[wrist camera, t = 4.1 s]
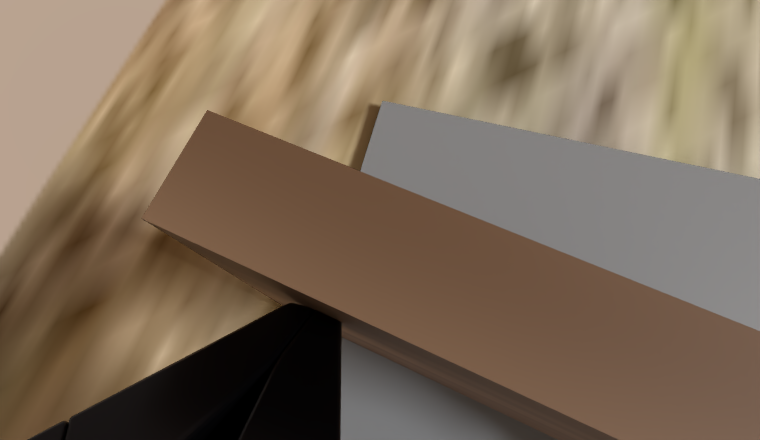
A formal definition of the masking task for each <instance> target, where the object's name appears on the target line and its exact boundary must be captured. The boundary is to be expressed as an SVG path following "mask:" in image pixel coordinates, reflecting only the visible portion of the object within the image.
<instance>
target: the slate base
mask: <svg viewBox="0 0 760 440" xmlns="http://www.w3.org/2000/svg"><path fill="white" fill-rule="evenodd" d="M360 171H361V172H363V173H366V174H368V175H371V176H373V177H376V178H378V179H381V180H383V181H386V182H388V183H391V184H393V185H396V186H398V187H401V188H403V189H406V190H408V191H411V192H413V193H416V194H418V195H421V196H423V197H426V198H428V199H431V200H433V201H436V202H438V203H441V204H443V205H446V206H448V207H451V208H453V209H456V210H458V211H461V212H463V213H466V214H468V215H471V216H473V217H476V218H478V219H481V220H483V221H486V222H488V223H491V224H493V225H496V226H498V227H501V228H503V229H506V230H508V231H511V232H513V233H516V234H518V235H521V236H523V237H526V238H528V239H531V240H533V241H536V242H538V243H541V244H543V245H546V246H548V247H551V248H553V249H556V250H558V251H561V252H563V253H566V254H568V255H571V256H573V257H576V258H578V259H581V260H583V261H586V262H588V263H591V264H593V265H596V266H598V267H601V268H603V269H606V270H608V271H611V272H613V273H616V274H618V275H621V276H623V277H626V278H628V279H631V280H633V281H636V282H638V283H641V284H643V285H646V286H648V287H651V288H653V289H656V290H658V291H661V292H663V293H666V294H668V295H671V296H673V297H676V298H678V299H681V300H683V301H686V302H688V303H691V304H693V305H696V306H698V307H701V308H703V309H706V310H708V311H711V312H713V313H716V314H718V315H721V316H723V317H726V318H728V319H731V320H733V321H736V322H738V323H741V324H743V325H746V326H748V327H751V328H753V329H756V330H758V331H760V179H757V178H753V177H748V176H743V175H738V174H733V173H729V172H724V171H719V170H714V169H709V168H704V167H700V166H695V165H690V164H685V163H680V162H675V161H671V160H666V159H661V158H656V157H651V156H647V155H642V154H637V153H632V152H627V151H622V150H618V149H613V148H608V147H603V146H598V145H593V144H589V143H584V142H579V141H574V140H569V139H565V138H560V137H555V136H550V135H545V134H540V133H536V132H531V131H526V130H521V129H516V128H511V127H507V126H502V125H497V124H492V123H487V122H483V121H478V120H473V119H468V118H463V117H458V116H454V115H449V114H444V113H439V112H434V111H429V110H425V109H420V108H415V107H410V106H405V105H401V104H396V103H391V102H386V101H382V104H381V107H380V110H379V113H378V116H377V120H376V123H375V126H374V129H373V132H372V135H371V139H370V142H369V145H368V148H367V151H366V154H365V157H364V161H363V164H362V167H361V170H360ZM341 440H558V439H555V438H553V437H551V436H549V435H547V434H545V433H543V432H541V431H539V430H536V429H534V428H532V427H530V426H528V425H526V424H524V423H522V422H520V421H517V420H515V419H513V418H511V417H509V416H507V415H505V414H503V413H501V412H499V411H496V410H494V409H492V408H490V407H488V406H486V405H484V404H482V403H480V402H477V401H475V400H473V399H471V398H469V397H467V396H465V395H463V394H461V393H459V392H456V391H454V390H452V389H450V388H448V387H446V386H444V385H442V384H440V383H437V382H435V381H433V380H431V379H429V378H427V377H425V376H423V375H421V374H418V373H416V372H414V371H412V370H410V369H408V368H406V367H404V366H402V365H400V364H397V363H395V362H393V361H391V360H389V359H387V358H385V357H383V356H381V355H378V354H376V353H374V352H372V351H370V350H368V349H366V348H364V347H362V346H360V345H357V344H355V343H353V342H351V341H349V340H347V339H345V338H343V337H342V358H341Z"/></svg>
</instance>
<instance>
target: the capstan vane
mask: <svg viewBox="0 0 760 440" xmlns="http://www.w3.org/2000/svg"><path fill="white" fill-rule="evenodd" d="M142 219H143V220H145V221H146V222H148V223H150V224H151V225H153V226H155V227H156V228H158V229H159V230H161V231H163V232H164V233H166V234H168V235H169V236H171V237H172V238H174V239H176V240H177V241H179V242H180V243H182V244H184V245H185V246H187V247H189V248H190V249H192V250H193V251H195V252H197V253H198V254H200V255H202V256H203V257H205V258H206V259H208V260H210V261H211V262H213V263H215V264H216V265H218V266H219V267H221V268H223V269H224V270H226V271H228V272H229V273H231V274H232V275H234V276H236V277H237V278H239V279H240V280H242V281H244V282H245V283H247V284H249V285H250V286H252V287H253V288H255V289H257V290H258V291H260V292H262V293H263V294H265V295H266V296H268V297H270V298H271V299H273V300H275V301H276V302H278V303H279V304H281V305H283V306H284V305H285V304H288V303H296V304H300V305H303V306H307V307H309V308H312V309H313V310H315V311H319V312H321V313H323V314H325V315H327V316H330V317H332V318H334V319H336V320H338V321H340V322H342V337H343V338H345V339H347V340H349V341H351V342H353V343H355V344H357V345H360V346H362V347H364V348H366V349H368V350H370V351H372V352H374V353H376V354H378V355H381V356H383V357H385V358H387V359H389V360H391V361H393V362H395V363H397V364H400V365H402V366H404V367H406V368H408V369H410V370H412V371H414V372H416V373H418V374H421V375H423V376H425V377H427V378H429V379H431V380H433V381H435V382H437V383H440V384H442V385H444V386H446V387H448V388H450V389H452V390H454V391H456V392H459V393H461V394H463V395H465V396H467V397H469V398H471V399H473V400H475V401H477V402H480V403H482V404H484V405H486V406H488V407H490V408H492V409H494V410H496V411H499V412H501V413H503V414H505V415H507V416H509V417H511V418H513V419H515V420H517V421H520V422H522V423H524V424H526V425H528V426H530V427H532V428H534V429H536V430H539V431H541V432H543V433H545V434H547V435H549V436H551V437H553V438H555V439H558V440H760V331H758V330H756V329H753V328H751V327H748V326H746V325H743V324H741V323H738V322H736V321H733V320H731V319H728V318H726V317H723V316H721V315H718V314H716V313H713V312H711V311H708V310H706V309H703V308H701V307H698V306H696V305H693V304H691V303H688V302H686V301H683V300H681V299H678V298H676V297H673V296H671V295H668V294H666V293H663V292H661V291H658V290H656V289H653V288H651V287H648V286H646V285H643V284H641V283H638V282H636V281H633V280H631V279H628V278H626V277H623V276H621V275H618V274H616V273H613V272H611V271H608V270H606V269H603V268H601V267H598V266H596V265H593V264H591V263H588V262H586V261H583V260H581V259H578V258H576V257H573V256H571V255H568V254H566V253H563V252H561V251H558V250H556V249H553V248H551V247H548V246H546V245H543V244H541V243H538V242H536V241H533V240H531V239H528V238H526V237H523V236H521V235H518V234H516V233H513V232H511V231H508V230H506V229H503V228H501V227H498V226H496V225H493V224H491V223H488V222H486V221H483V220H481V219H478V218H476V217H473V216H471V215H468V214H466V213H463V212H461V211H458V210H456V209H453V208H451V207H448V206H446V205H443V204H441V203H438V202H436V201H433V200H431V199H428V198H426V197H423V196H421V195H418V194H416V193H413V192H411V191H408V190H406V189H403V188H401V187H398V186H396V185H393V184H391V183H388V182H386V181H383V180H381V179H378V178H376V177H373V176H371V175H368V174H366V173H363V172H361V171H358V170H356V169H353V168H351V167H348V166H346V165H343V164H341V163H338V162H336V161H333V160H331V159H328V158H326V157H323V156H321V155H318V154H316V153H313V152H311V151H308V150H306V149H303V148H301V147H298V146H296V145H293V144H291V143H288V142H286V141H283V140H281V139H278V138H276V137H273V136H271V135H268V134H266V133H263V132H261V131H258V130H256V129H253V128H251V127H248V126H246V125H243V124H241V123H238V122H236V121H233V120H231V119H228V118H226V117H223V116H221V115H218V114H216V113H213V112H211V111H208V110H207V111H206V113H205V115H204V116H203V118H202V120H201V121H200V123H199V125H198V126H197V128H196V130H195V131H194V133H193V134H192V136H191V138H190V139H189V141H188V143H187V144H186V146H185V148H184V149H183V151H182V153H181V154H180V156H179V157H178V159H177V161H176V162H175V164H174V166H173V167H172V169H171V171H170V172H169V174H168V176H167V177H166V179H165V180H164V182H163V184H162V185H161V187H160V189H159V190H158V192H157V194H156V195H155V197H154V199H153V200H152V202H151V203H150V205H149V207H148V208H147V210H146V212H145V213H144V215H143V217H142Z"/></svg>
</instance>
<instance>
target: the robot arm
mask: <svg viewBox="0 0 760 440" xmlns="http://www.w3.org/2000/svg"><path fill="white" fill-rule="evenodd" d="M341 358H342V322H340V321H338V320H336V319H334V318H332V317H330V316H327V315H325V314H323V313H321V312H319V311H315V310H313V309H312V308H309V307H307V306H303V305H300V304H296V303H288V304H285V305H284V306H282V307H280V308H278V309H276V310H274V311H272V312H270V313H268V314H266V315H264V316H263V317H261V318H259V319H257V320H255V321H253V322H251V323H249V324H247V325H245V326H244V327H242V328H240V329H238V330H236V331H234V332H232V333H230V334H228V335H226V336H224V337H223V338H221V339H219V340H217V341H215V342H213V343H211V344H209V345H207V346H205V347H204V348H202V349H200V350H198V351H196V352H194V353H192V354H190V355H188V356H186V357H184V358H183V359H181V360H179V361H177V362H175V363H173V364H171V365H169V366H167V367H165V368H164V369H162V370H160V371H158V372H156V373H154V374H152V375H150V376H148V377H146V378H144V379H143V380H141V381H139V382H137V383H135V384H133V385H131V386H129V387H127V388H125V389H124V390H122V391H120V392H118V393H116V394H114V395H112V396H110V397H108V398H106V399H104V400H103V401H101V402H99V403H97V404H95V405H93V406H91V407H89V408H87V409H85V410H84V411H82V412H80V413H78V414H76V415H74V416H72V417H71V418H70V420H69V423H68V422H67V421H62V422H60V423H58V424H56V425H54V426H53V427H51V428H49V429H47V430H45V431H43V432H41V433H39V434H37V435H35V436H34V437H32V438H30V439H28V440H341Z"/></svg>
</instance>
